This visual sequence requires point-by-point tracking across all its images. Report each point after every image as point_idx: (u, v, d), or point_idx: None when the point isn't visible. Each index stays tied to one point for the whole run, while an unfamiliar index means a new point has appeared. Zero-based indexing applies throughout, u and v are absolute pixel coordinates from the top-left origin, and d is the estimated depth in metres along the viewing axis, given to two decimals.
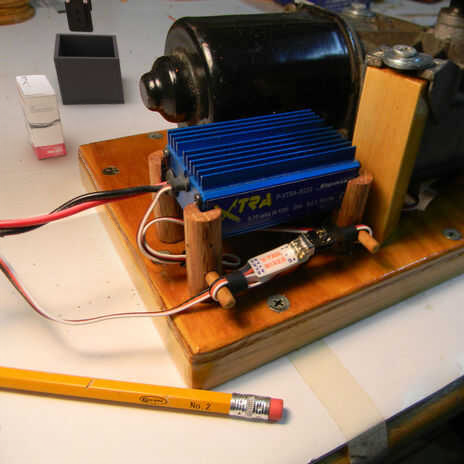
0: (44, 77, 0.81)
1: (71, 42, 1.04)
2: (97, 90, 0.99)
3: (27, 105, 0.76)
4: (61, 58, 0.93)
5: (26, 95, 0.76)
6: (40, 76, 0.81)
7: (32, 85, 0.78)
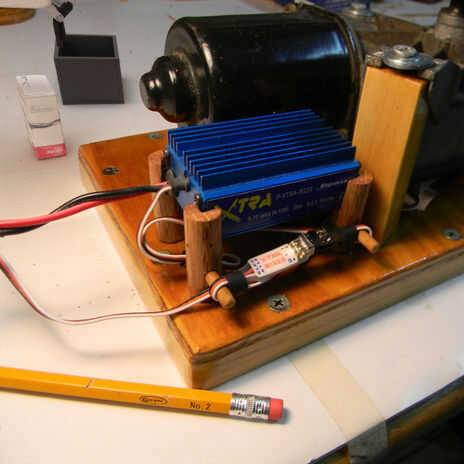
0: (44, 77, 0.81)
1: (71, 42, 1.04)
2: (97, 90, 0.99)
3: (27, 105, 0.76)
4: (61, 58, 0.93)
5: (26, 95, 0.76)
6: (40, 76, 0.81)
7: (32, 85, 0.78)
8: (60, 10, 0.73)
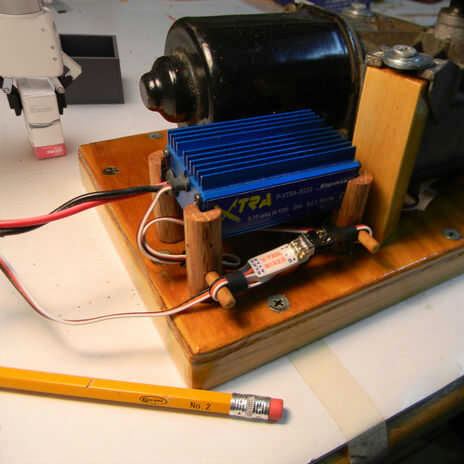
0: (44, 77, 0.81)
1: (71, 42, 1.04)
2: (97, 90, 0.99)
3: (27, 105, 0.76)
4: None
5: (25, 95, 0.76)
6: None
7: (31, 85, 0.78)
8: (63, 84, 0.80)
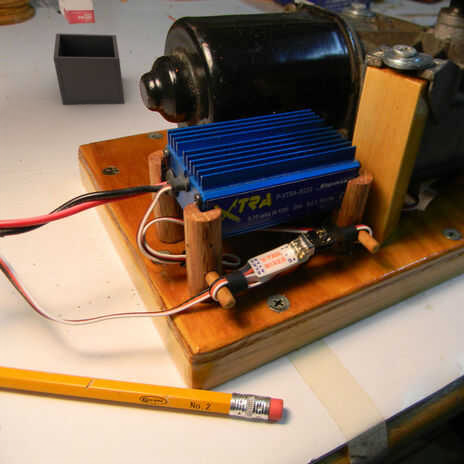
0: None
1: (71, 42, 1.04)
2: (97, 90, 0.99)
3: None
4: (61, 58, 0.93)
5: None
6: None
7: None
8: None
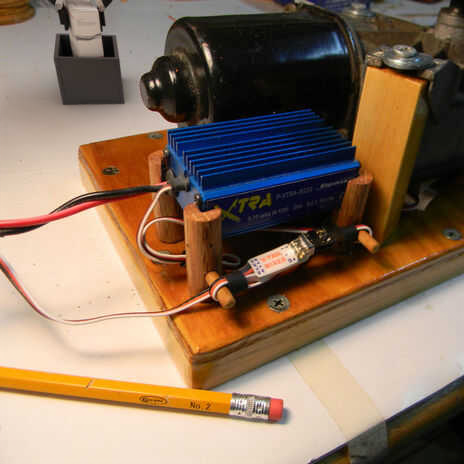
0: None
1: None
2: (97, 90, 0.99)
3: (75, 18, 0.92)
4: (61, 58, 0.93)
5: (74, 9, 0.91)
6: None
7: (78, 3, 0.94)
8: (104, 3, 0.95)
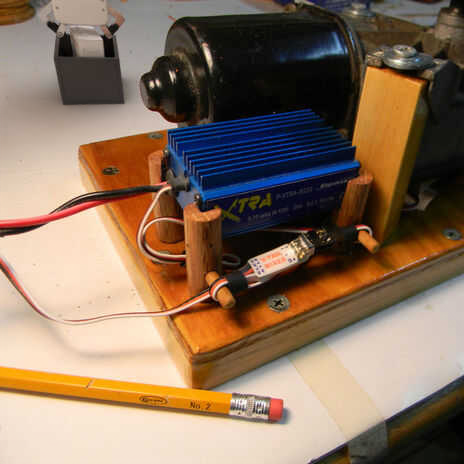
0: (92, 27, 1.00)
1: None
2: (97, 90, 0.99)
3: (80, 47, 0.95)
4: (61, 58, 0.93)
5: (80, 39, 0.94)
6: (89, 27, 1.00)
7: (83, 32, 0.97)
8: (110, 30, 0.98)
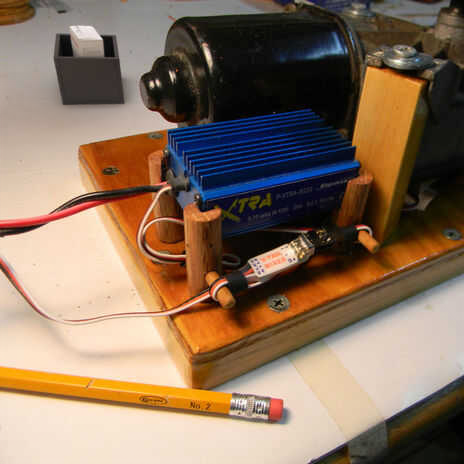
0: (92, 27, 1.00)
1: None
2: (97, 90, 0.99)
3: (80, 47, 0.95)
4: (61, 58, 0.93)
5: (80, 39, 0.94)
6: (89, 27, 1.00)
7: (83, 32, 0.97)
8: None
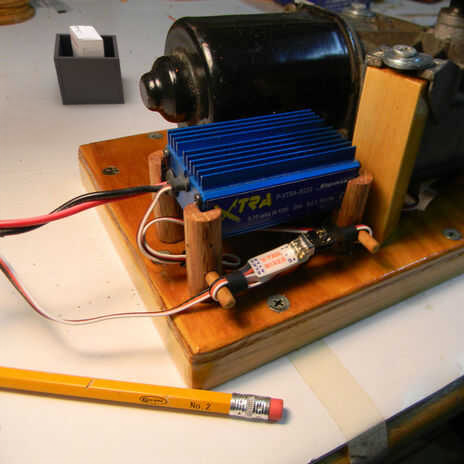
0: (92, 27, 1.00)
1: None
2: (97, 90, 0.99)
3: (80, 47, 0.95)
4: (61, 58, 0.93)
5: (80, 39, 0.94)
6: (89, 27, 1.00)
7: (83, 32, 0.97)
8: None
